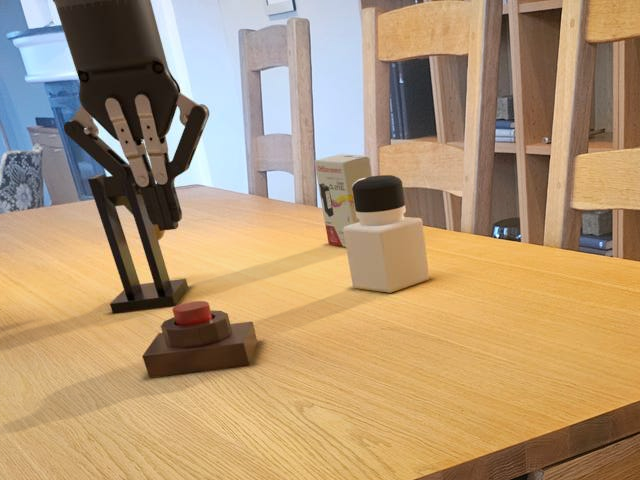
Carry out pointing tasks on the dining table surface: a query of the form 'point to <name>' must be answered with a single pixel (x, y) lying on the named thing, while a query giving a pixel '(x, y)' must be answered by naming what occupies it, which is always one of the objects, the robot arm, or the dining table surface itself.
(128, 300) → the bracket
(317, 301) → the dining table surface
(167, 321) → the block
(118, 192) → the ball knob lever
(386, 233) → the medicine bottle
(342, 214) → the ink box
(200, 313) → the release button
